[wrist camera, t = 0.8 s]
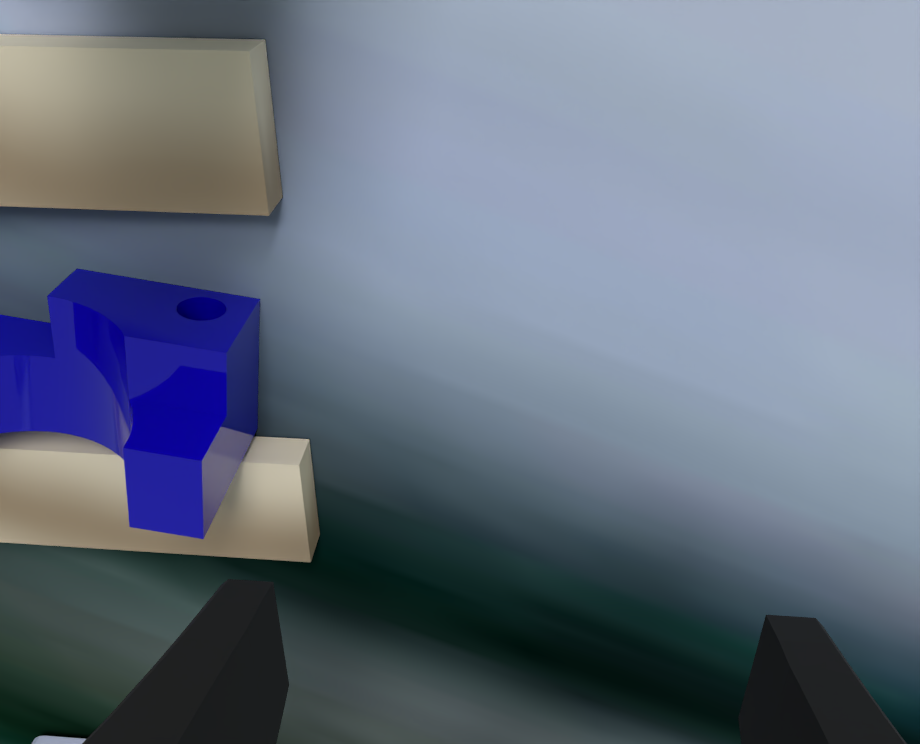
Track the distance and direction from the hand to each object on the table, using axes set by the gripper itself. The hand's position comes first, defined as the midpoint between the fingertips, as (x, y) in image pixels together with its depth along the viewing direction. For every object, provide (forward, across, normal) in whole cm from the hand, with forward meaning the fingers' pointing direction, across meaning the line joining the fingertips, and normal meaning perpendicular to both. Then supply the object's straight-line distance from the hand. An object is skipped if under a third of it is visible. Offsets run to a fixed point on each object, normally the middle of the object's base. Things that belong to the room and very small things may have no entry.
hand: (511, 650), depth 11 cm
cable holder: (+9, +10, 0) cm, 13 cm away
